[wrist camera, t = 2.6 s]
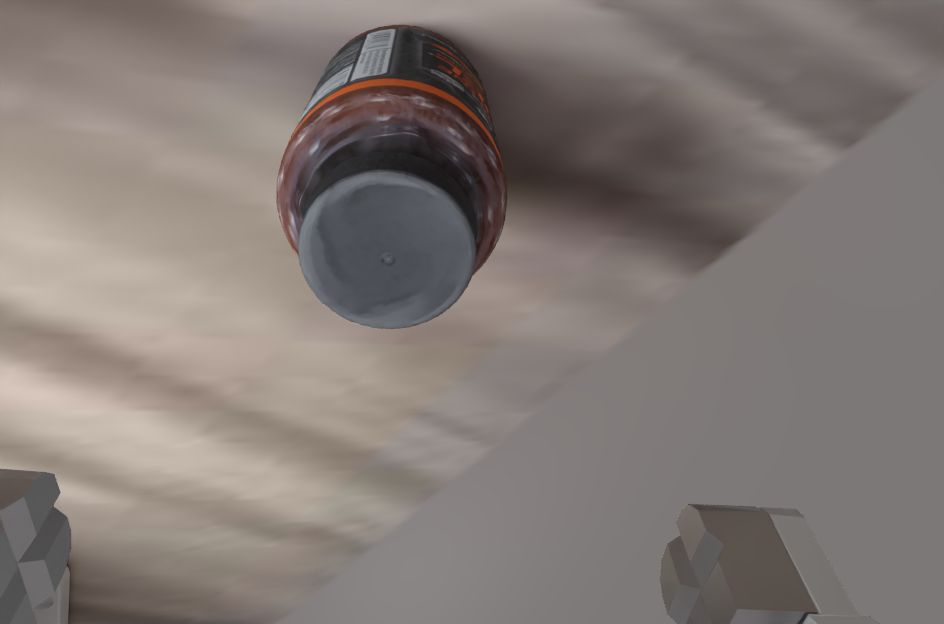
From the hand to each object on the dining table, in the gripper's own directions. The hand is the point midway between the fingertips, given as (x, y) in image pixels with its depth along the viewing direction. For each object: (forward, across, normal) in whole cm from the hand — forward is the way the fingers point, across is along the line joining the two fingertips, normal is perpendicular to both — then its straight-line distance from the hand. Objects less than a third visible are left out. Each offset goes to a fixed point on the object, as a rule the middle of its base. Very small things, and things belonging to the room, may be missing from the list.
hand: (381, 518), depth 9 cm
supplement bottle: (+19, 0, 0) cm, 19 cm away
